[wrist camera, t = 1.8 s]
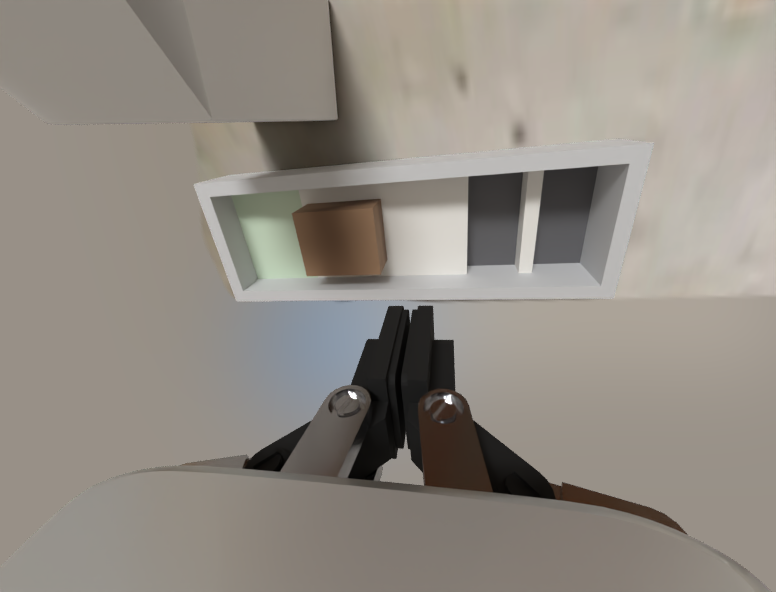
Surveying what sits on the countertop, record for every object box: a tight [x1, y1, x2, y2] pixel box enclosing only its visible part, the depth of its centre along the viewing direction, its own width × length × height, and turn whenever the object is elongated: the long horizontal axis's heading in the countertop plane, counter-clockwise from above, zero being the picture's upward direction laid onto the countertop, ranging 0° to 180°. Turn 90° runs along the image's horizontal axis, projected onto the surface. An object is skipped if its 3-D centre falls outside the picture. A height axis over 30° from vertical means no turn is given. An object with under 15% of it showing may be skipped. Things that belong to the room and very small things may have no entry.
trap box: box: [193, 139, 654, 301], centre depth 25 cm, size 30×10×4 cm, turn 96°
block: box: [292, 199, 387, 276], centre depth 25 cm, size 6×5×3 cm
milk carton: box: [0, 0, 338, 125], centre depth 15 cm, size 7×7×19 cm
